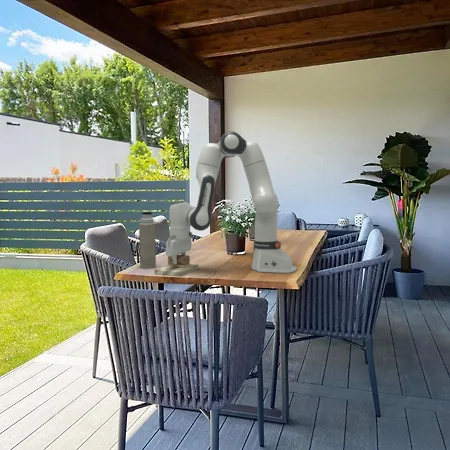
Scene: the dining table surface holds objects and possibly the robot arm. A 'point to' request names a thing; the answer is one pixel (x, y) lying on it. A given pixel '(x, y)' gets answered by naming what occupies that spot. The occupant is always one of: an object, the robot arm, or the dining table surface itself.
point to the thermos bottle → (147, 241)
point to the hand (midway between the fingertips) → (179, 262)
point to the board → (176, 270)
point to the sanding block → (179, 261)
